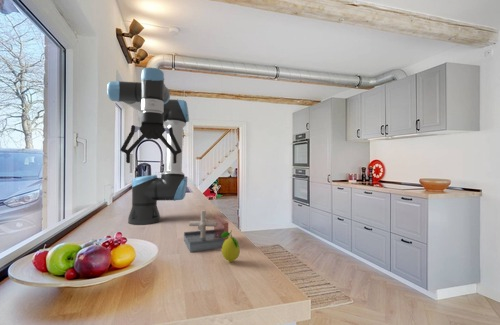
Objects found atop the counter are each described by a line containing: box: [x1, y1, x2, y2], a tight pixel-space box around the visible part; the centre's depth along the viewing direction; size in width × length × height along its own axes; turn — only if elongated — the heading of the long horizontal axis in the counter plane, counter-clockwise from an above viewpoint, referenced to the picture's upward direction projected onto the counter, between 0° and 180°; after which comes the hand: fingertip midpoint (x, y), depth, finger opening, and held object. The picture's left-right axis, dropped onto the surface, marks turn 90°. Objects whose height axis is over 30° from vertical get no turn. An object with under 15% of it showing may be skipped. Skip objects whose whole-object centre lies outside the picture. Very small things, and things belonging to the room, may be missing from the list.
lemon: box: [221, 231, 241, 263], centre depth 80 cm, size 7×6×10 cm
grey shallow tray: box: [183, 214, 229, 253], centre depth 98 cm, size 14×14×9 cm
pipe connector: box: [188, 209, 217, 238], centre depth 98 cm, size 10×10×10 cm
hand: (152, 172), depth 93 cm, fingers open, 13 cm apart
